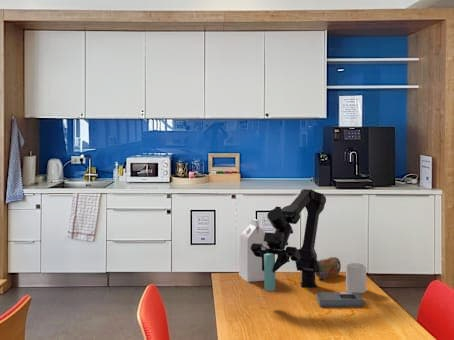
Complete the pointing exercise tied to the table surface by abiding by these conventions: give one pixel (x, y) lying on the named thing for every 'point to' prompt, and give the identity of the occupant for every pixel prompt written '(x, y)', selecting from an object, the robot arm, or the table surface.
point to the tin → (329, 268)
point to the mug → (356, 277)
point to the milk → (251, 253)
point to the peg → (269, 272)
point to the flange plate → (340, 299)
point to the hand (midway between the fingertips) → (268, 271)
